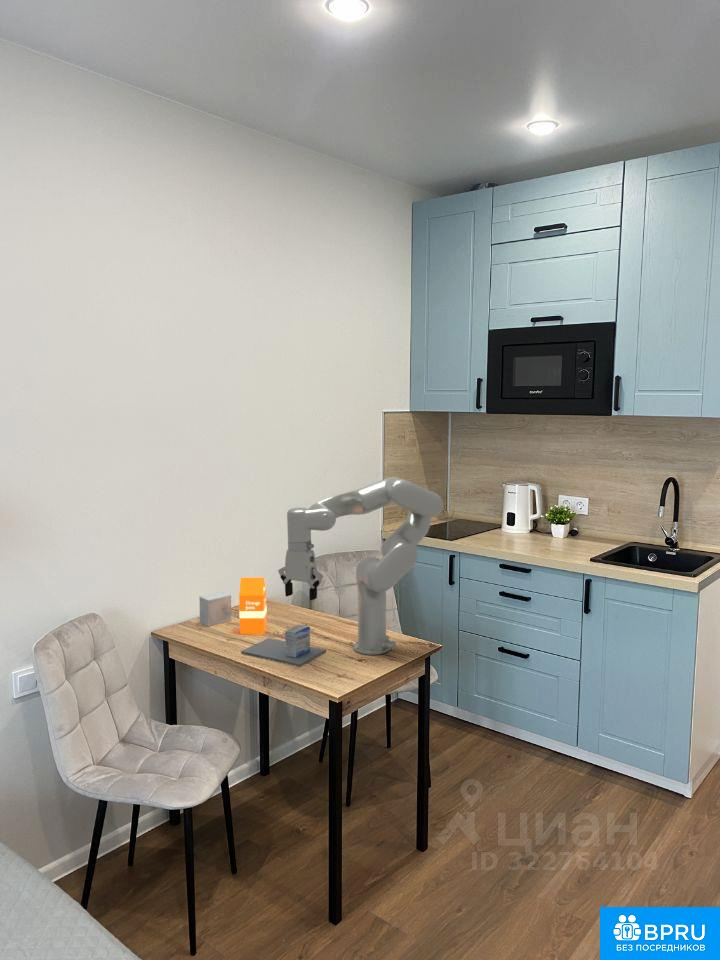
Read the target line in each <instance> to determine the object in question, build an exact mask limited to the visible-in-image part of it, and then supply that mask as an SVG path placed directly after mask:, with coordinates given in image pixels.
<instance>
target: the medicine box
mask: <svg viewBox="0 0 720 960" xmlns="http://www.w3.org/2000/svg"><path fill="white" fill-rule="evenodd" d="M284 635H285V637H284V638H285V640H284V641H285V646H286V656H290V657H294V658H297V657H299V656H301V655H303V654H305V653H307V652H309V651H310V647H311V628H310V626H309V625H305V624H298V625H296V626H293V627H292V628H289V629H286V630H285V631H284Z"/></svg>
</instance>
